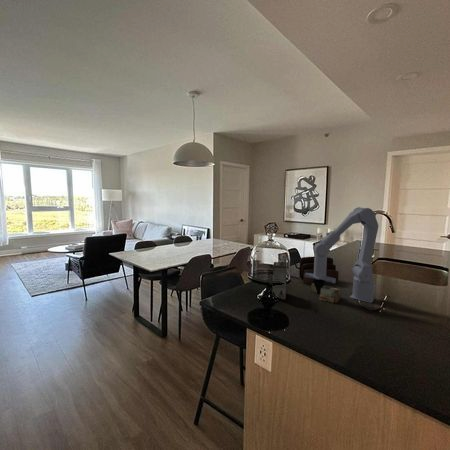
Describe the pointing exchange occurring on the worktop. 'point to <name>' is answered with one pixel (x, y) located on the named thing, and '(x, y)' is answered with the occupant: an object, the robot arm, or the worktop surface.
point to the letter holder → (308, 267)
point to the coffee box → (280, 279)
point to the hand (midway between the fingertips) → (318, 293)
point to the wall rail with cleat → (336, 297)
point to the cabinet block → (327, 291)
